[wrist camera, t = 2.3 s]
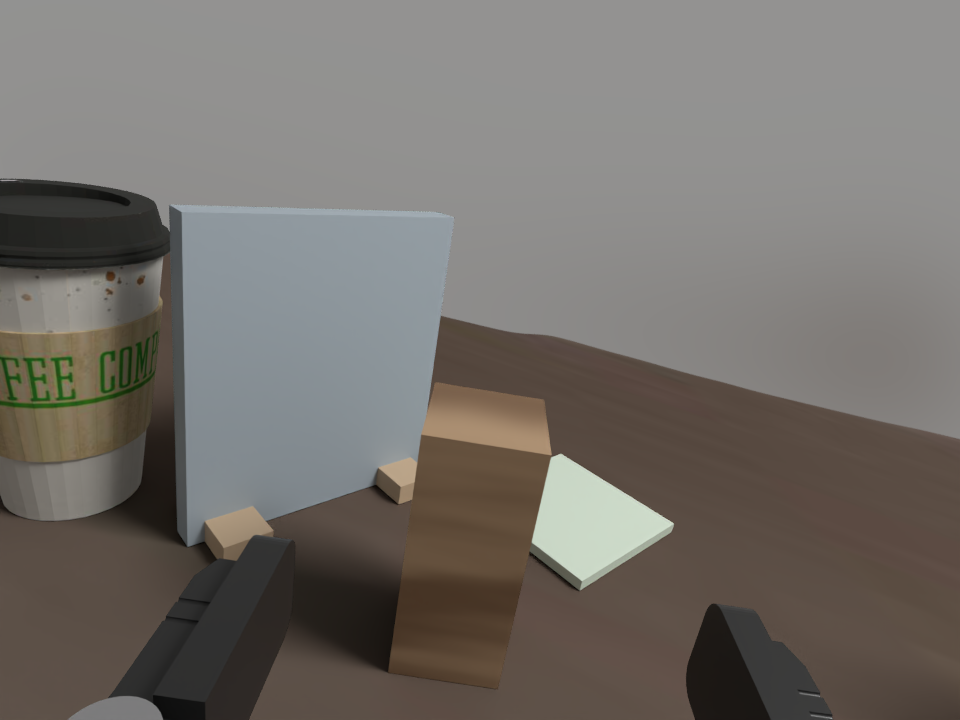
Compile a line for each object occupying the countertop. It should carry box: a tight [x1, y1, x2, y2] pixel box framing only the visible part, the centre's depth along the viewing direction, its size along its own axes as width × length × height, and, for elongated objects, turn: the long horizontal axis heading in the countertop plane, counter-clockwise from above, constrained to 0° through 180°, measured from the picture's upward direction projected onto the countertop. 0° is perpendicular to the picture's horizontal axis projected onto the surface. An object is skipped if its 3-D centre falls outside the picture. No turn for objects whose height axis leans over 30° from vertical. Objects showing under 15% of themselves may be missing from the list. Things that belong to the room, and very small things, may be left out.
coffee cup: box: [0, 179, 170, 521], centre depth 30 cm, size 10×10×15 cm
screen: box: [169, 205, 454, 561], centre depth 32 cm, size 14×6×16 cm, turn 133°
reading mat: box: [530, 454, 674, 590], centre depth 37 cm, size 9×9×1 cm
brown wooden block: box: [388, 382, 552, 689], centre depth 25 cm, size 4×5×11 cm
